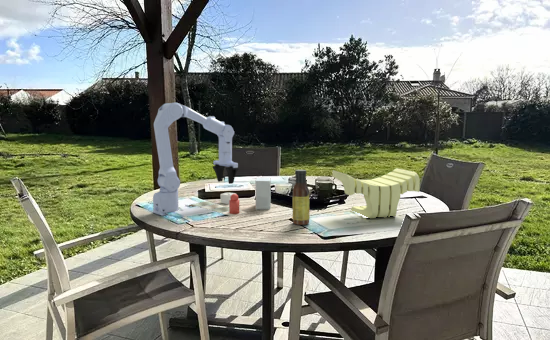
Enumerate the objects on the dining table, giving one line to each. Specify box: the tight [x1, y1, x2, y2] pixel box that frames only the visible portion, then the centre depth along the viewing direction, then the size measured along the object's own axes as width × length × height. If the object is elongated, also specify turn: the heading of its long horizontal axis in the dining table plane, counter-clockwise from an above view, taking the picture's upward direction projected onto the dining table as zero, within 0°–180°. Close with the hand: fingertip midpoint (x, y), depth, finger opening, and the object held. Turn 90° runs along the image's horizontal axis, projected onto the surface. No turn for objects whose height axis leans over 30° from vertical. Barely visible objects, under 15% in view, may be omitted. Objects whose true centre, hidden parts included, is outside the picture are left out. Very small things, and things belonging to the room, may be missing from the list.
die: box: [220, 192, 237, 205], centre depth 164 cm, size 5×5×5 cm
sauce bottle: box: [292, 169, 311, 226], centre depth 135 cm, size 6×6×20 cm
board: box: [188, 201, 248, 217], centre depth 154 cm, size 10×28×1 cm, turn 46°
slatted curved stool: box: [332, 167, 421, 219], centre depth 148 cm, size 30×16×18 cm, turn 106°
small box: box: [255, 177, 272, 210], centre depth 156 cm, size 8×6×13 cm
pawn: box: [228, 193, 240, 214], centre depth 146 cm, size 4×4×8 cm
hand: (225, 182), depth 164 cm, fingers open, 7 cm apart
